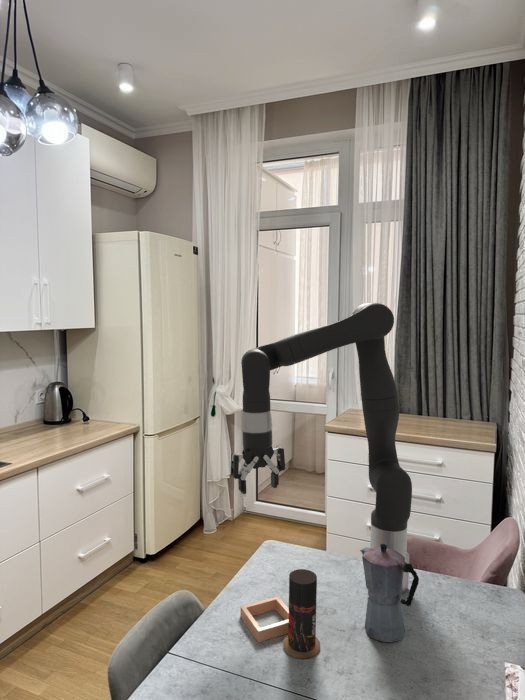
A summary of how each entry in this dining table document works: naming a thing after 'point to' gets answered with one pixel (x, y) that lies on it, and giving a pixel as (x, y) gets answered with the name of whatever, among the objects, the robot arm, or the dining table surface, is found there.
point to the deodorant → (302, 610)
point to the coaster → (301, 654)
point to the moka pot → (386, 592)
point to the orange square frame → (262, 607)
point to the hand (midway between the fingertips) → (258, 490)
